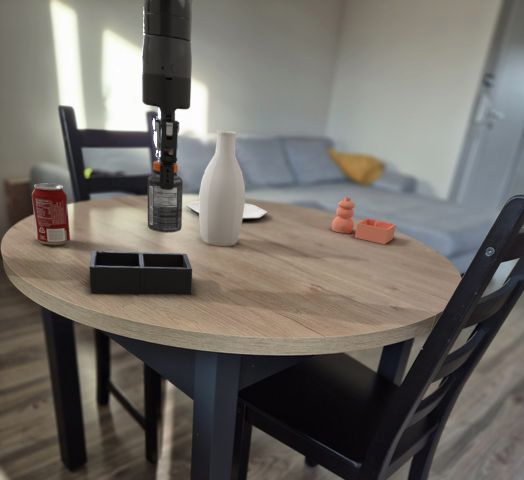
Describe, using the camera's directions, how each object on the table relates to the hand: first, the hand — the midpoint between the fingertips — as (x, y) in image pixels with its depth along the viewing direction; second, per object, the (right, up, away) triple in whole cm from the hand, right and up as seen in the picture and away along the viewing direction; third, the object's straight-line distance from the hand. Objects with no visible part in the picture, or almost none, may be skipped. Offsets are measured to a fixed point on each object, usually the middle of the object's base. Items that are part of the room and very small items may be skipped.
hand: (165, 184), depth 82 cm
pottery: (+46, +6, +62) cm, 77 cm away
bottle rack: (-6, -16, +7) cm, 19 cm away
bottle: (+6, -1, +39) cm, 39 cm away
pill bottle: (-1, -7, +4) cm, 8 cm away
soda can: (-29, -5, +24) cm, 38 cm away
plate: (+6, +14, +68) cm, 70 cm away
